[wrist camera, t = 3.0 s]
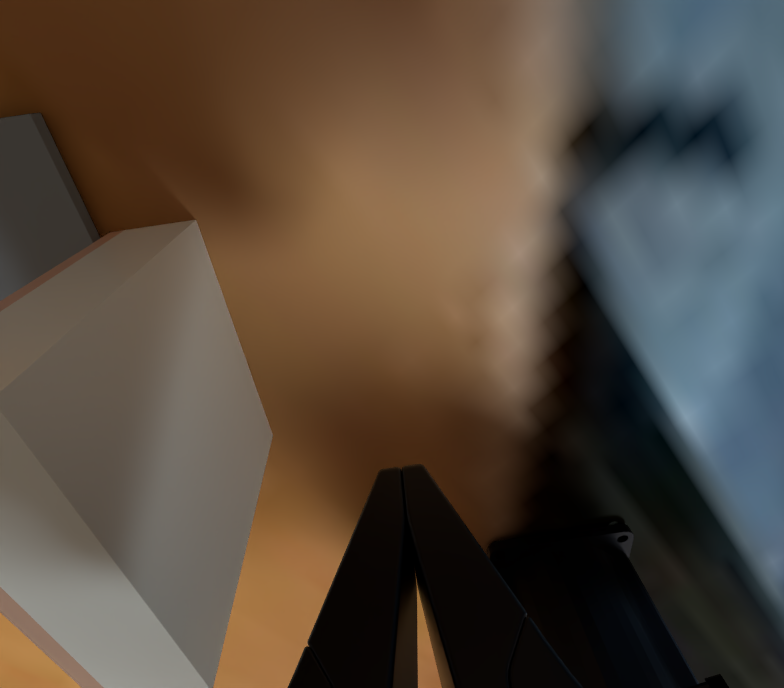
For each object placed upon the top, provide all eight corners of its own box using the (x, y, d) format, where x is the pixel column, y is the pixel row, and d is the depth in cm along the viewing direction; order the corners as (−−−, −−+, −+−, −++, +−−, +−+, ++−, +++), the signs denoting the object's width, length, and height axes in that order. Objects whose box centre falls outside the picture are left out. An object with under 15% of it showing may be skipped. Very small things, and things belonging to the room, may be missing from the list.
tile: (196, 219, 12) (-8, 398, 5) (273, 434, 16) (211, 690, 10) (110, 231, 12) (-201, 426, 5) (208, 443, 16) (102, 706, 10)
